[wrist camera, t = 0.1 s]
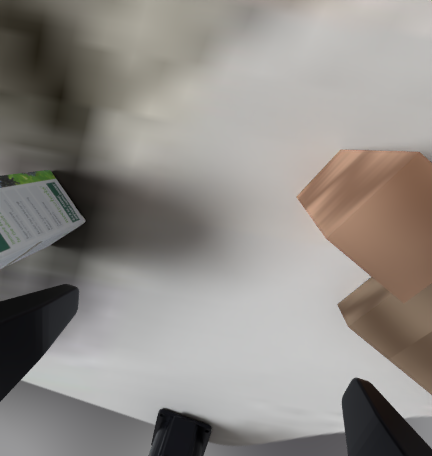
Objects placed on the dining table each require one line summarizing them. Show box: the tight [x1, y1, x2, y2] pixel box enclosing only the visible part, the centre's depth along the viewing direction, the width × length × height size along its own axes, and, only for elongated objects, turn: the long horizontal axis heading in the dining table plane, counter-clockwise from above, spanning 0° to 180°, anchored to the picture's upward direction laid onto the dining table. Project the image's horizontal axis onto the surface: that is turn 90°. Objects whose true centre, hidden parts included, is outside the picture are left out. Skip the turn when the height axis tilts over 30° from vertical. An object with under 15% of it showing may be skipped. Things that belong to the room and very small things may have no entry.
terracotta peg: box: [297, 150, 432, 303], centre depth 15 cm, size 5×5×10 cm
